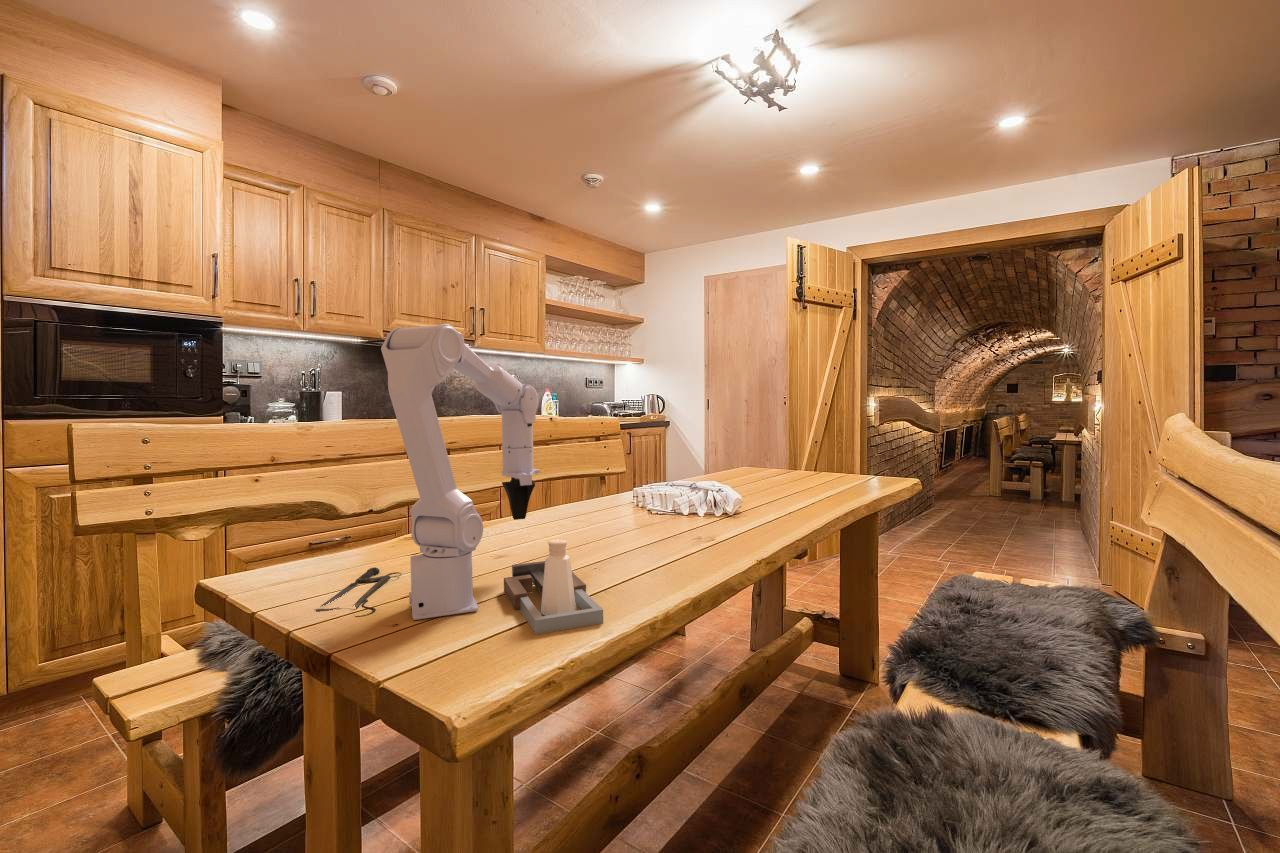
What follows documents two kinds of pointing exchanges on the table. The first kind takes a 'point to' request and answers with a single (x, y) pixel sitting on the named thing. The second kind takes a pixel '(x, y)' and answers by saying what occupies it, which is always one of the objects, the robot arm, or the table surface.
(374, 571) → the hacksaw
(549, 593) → the pepper shaker
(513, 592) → the holder
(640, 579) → the table surface
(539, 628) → the grey u-shaped frame
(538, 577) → the release key
